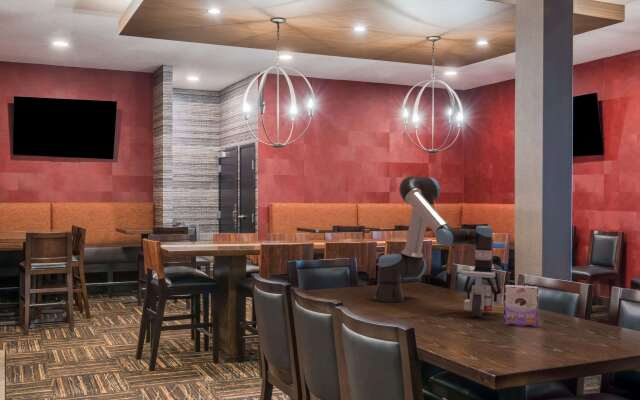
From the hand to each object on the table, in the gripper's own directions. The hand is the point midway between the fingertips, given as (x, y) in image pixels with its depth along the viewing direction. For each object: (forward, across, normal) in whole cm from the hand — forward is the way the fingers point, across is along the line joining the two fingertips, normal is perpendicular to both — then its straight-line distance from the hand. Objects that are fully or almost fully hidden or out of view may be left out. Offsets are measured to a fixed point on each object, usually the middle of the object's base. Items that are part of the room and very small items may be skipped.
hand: (481, 307), depth 319 cm
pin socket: (+3, +6, +11) cm, 13 cm away
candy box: (+3, +20, -21) cm, 29 cm away
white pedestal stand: (+3, 0, -11) cm, 11 cm away
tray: (+3, -4, +14) cm, 14 cm away
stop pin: (+3, +6, +11) cm, 13 cm away
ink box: (+1, 0, 0) cm, 1 cm away
